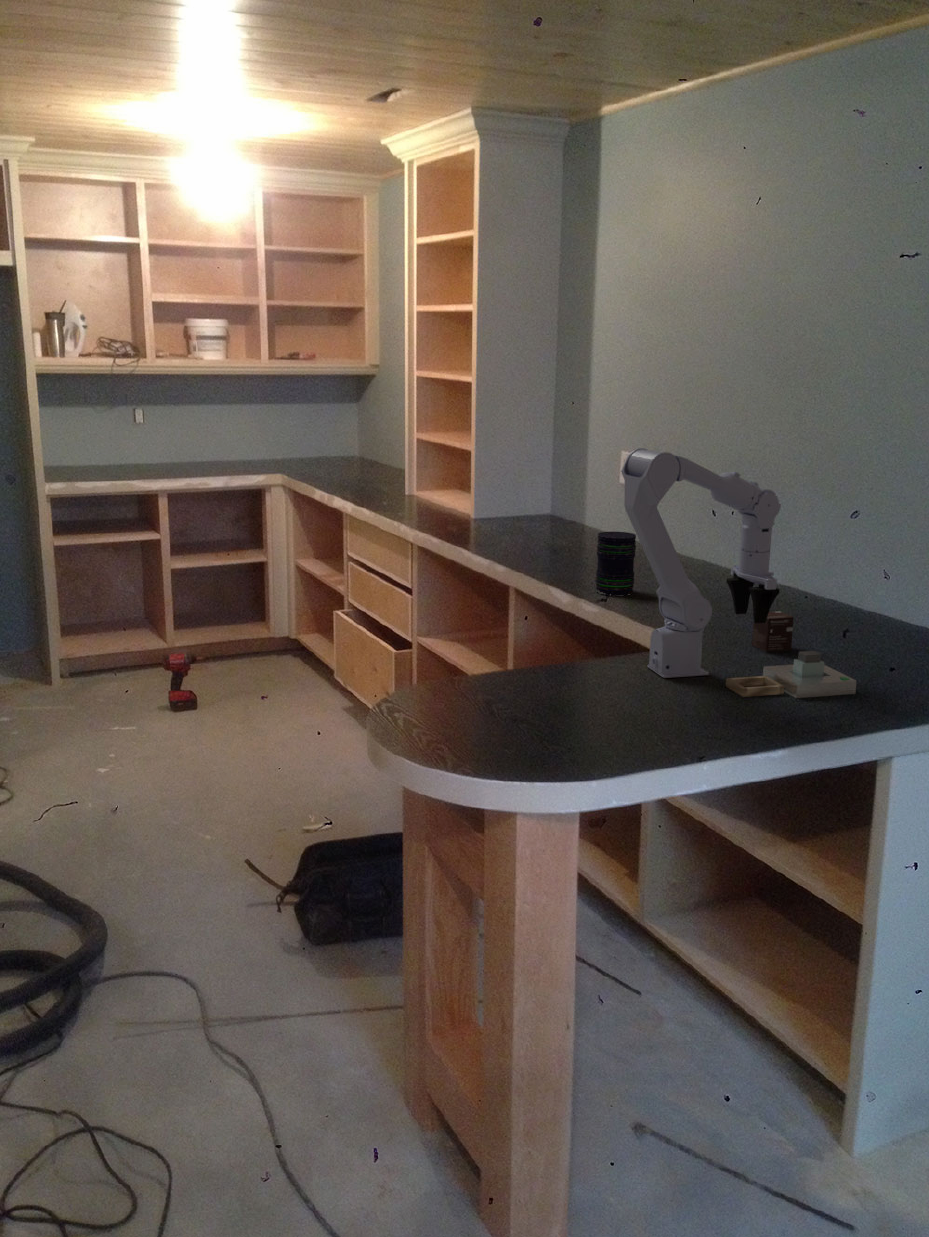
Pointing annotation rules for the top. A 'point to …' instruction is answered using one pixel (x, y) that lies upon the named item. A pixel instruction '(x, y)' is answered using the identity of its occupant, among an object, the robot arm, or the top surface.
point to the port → (811, 682)
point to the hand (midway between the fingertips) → (750, 618)
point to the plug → (808, 665)
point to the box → (773, 633)
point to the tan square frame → (768, 688)
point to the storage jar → (615, 562)
